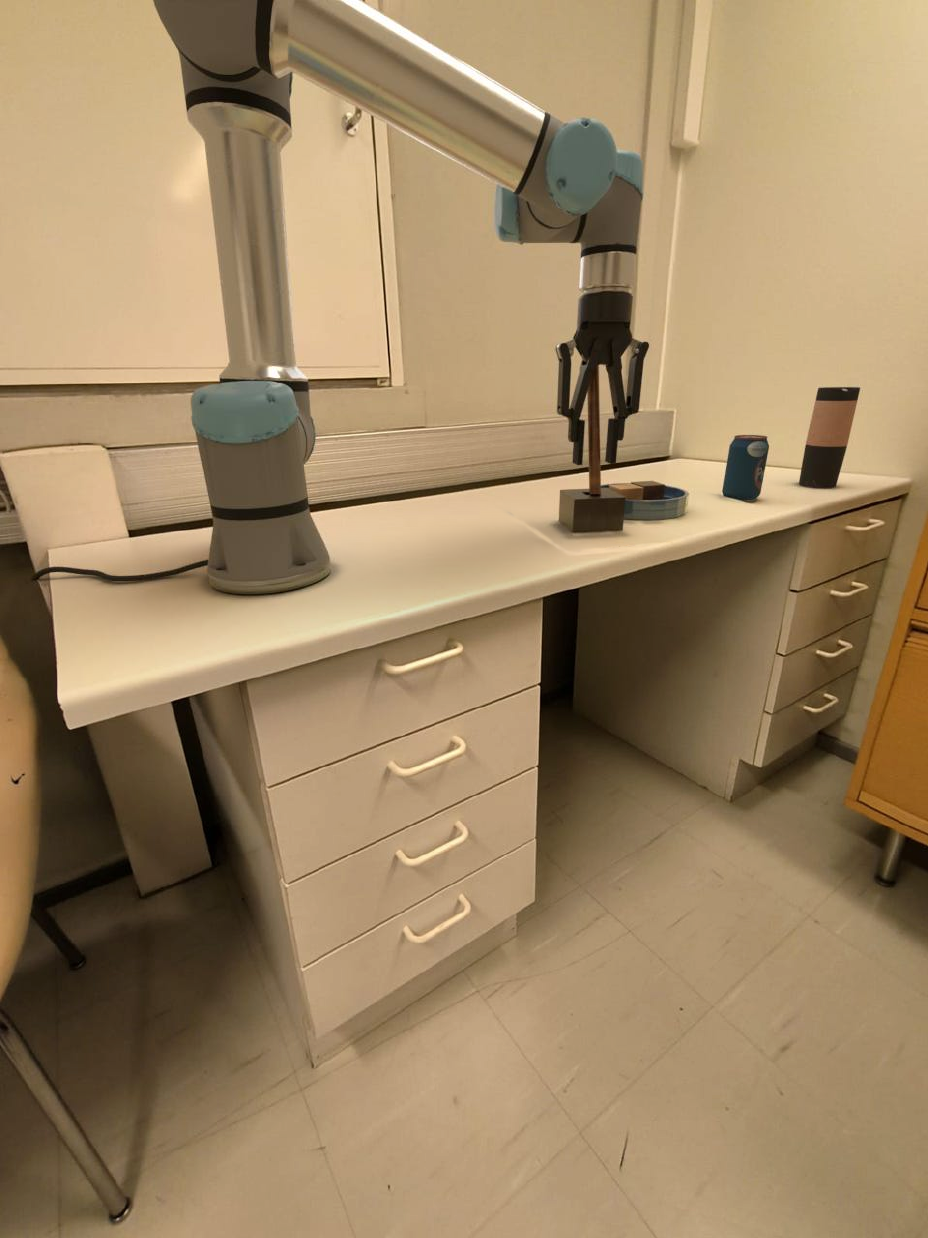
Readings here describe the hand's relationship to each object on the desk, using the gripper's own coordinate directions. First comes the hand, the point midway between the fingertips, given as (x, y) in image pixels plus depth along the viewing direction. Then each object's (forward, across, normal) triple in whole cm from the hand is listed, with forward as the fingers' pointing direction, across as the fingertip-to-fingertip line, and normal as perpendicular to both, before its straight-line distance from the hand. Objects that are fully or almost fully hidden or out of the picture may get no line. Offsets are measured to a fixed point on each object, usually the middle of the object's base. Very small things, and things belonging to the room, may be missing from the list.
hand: (593, 462), depth 88 cm
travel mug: (+11, -61, -28) cm, 68 cm away
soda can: (+11, -37, -18) cm, 43 cm away
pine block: (+10, -9, -9) cm, 16 cm away
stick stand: (+11, 0, 0) cm, 11 cm away
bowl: (+11, -12, -10) cm, 19 cm away
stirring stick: (+5, 0, +1) cm, 5 cm away
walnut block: (+10, -14, -11) cm, 20 cm away
